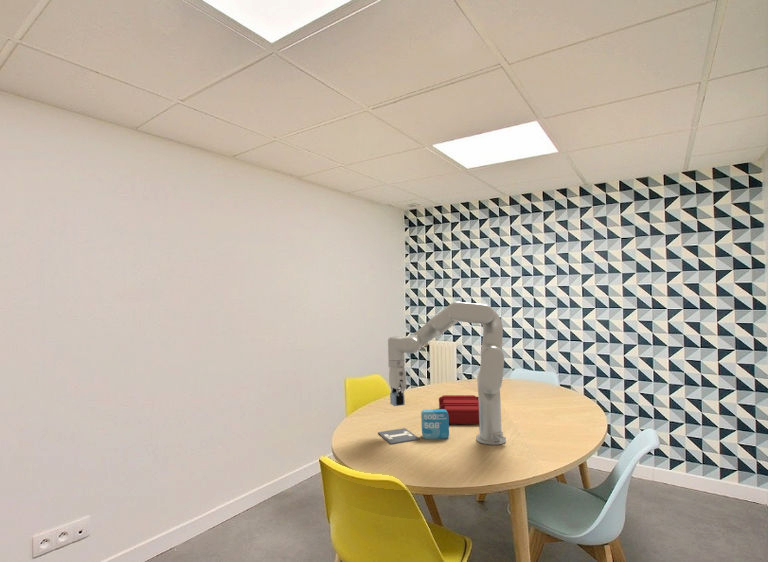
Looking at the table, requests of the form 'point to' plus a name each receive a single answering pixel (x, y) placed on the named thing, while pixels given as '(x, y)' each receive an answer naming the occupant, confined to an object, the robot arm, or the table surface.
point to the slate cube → (393, 399)
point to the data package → (435, 423)
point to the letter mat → (398, 436)
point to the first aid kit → (461, 408)
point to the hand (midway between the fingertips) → (397, 402)
